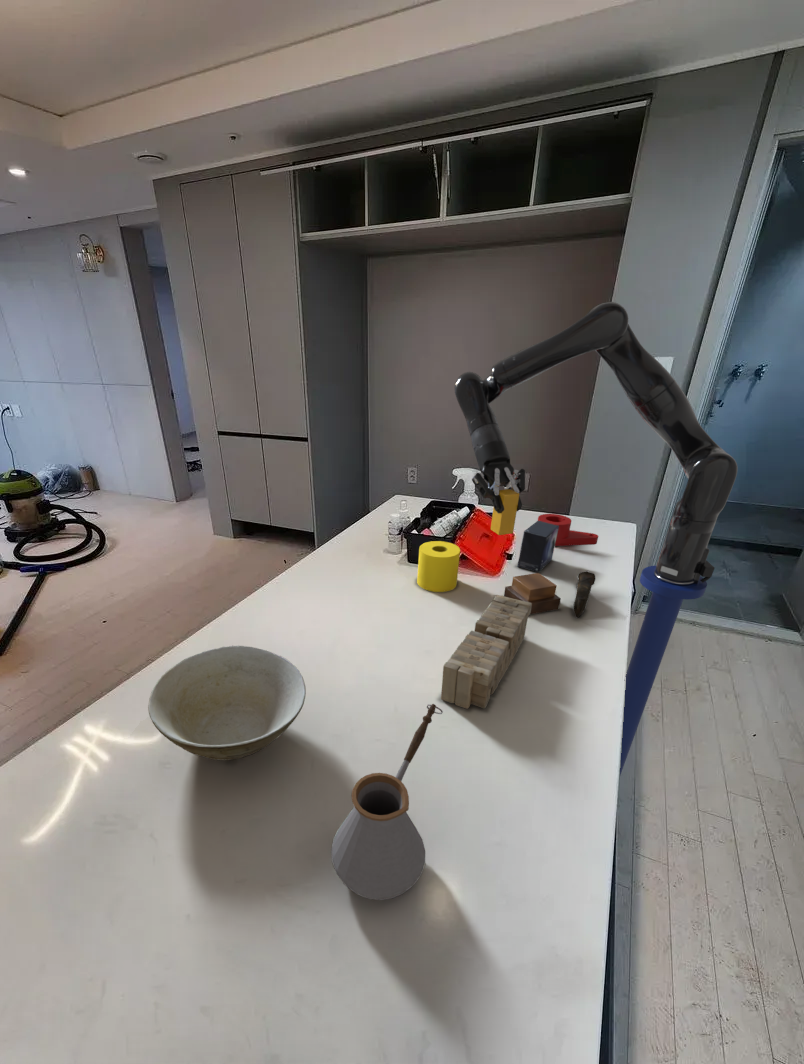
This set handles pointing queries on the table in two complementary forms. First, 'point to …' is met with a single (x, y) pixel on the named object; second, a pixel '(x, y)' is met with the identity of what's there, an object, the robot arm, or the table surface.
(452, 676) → the block tower
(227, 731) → the bowl
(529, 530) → the small box
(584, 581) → the hand tool
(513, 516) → the bar
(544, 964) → the table surface
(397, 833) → the coffee pot
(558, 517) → the lever
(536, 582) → the brown stepped wooden block
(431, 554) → the yellow toilet paper roll
